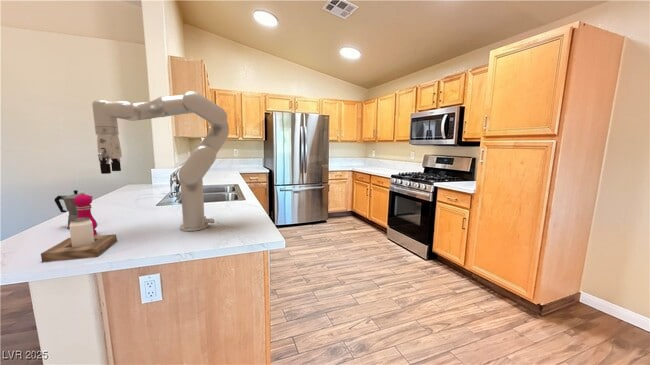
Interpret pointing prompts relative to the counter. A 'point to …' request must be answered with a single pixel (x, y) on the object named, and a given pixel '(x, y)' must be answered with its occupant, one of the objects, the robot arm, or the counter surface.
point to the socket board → (78, 249)
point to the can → (81, 232)
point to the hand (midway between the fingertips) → (111, 172)
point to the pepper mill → (85, 208)
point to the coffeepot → (69, 206)
